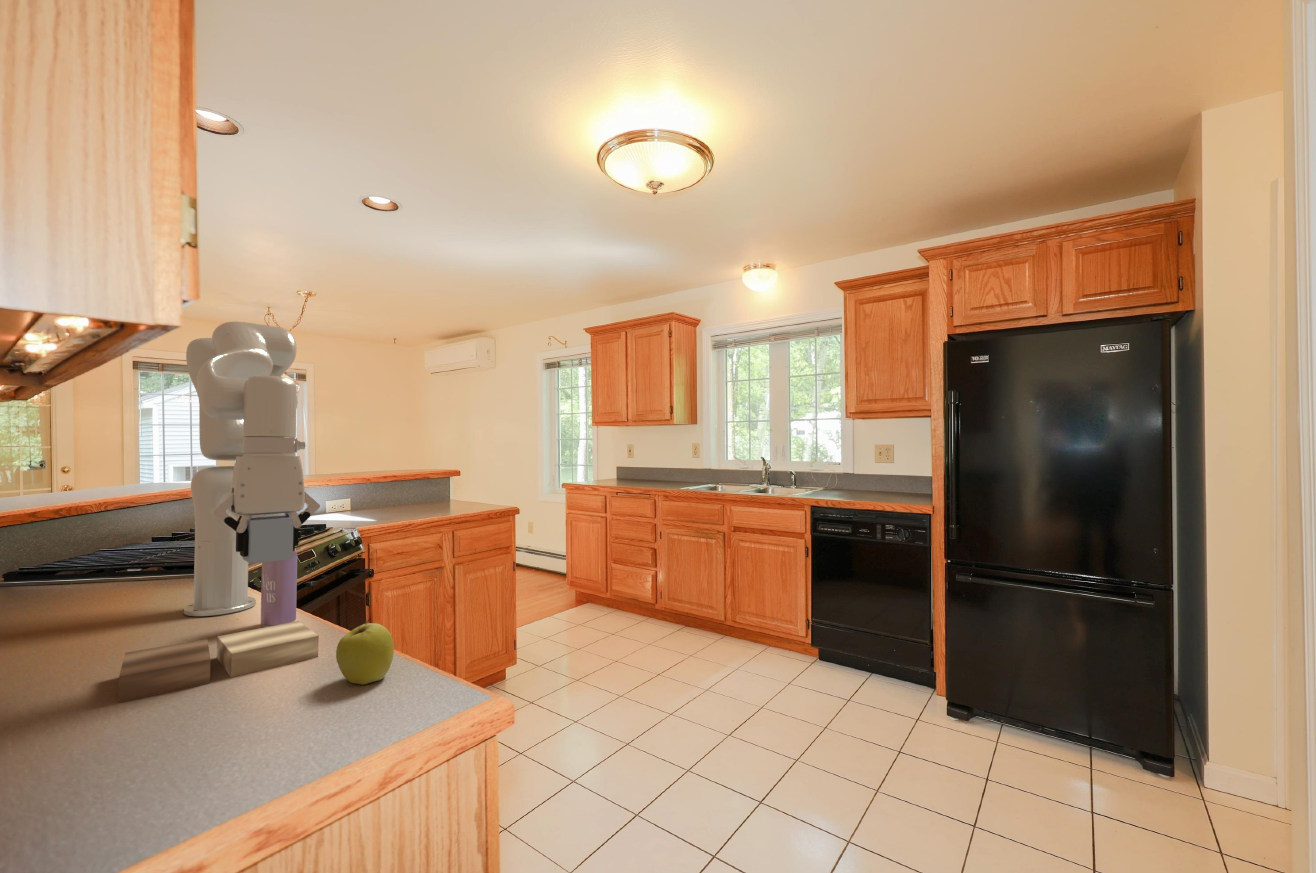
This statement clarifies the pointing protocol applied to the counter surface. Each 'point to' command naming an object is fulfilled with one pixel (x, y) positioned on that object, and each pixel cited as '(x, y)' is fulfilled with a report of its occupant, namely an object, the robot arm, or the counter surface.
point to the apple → (365, 653)
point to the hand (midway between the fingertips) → (267, 552)
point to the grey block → (270, 539)
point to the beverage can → (279, 591)
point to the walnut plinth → (164, 669)
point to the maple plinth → (266, 648)
